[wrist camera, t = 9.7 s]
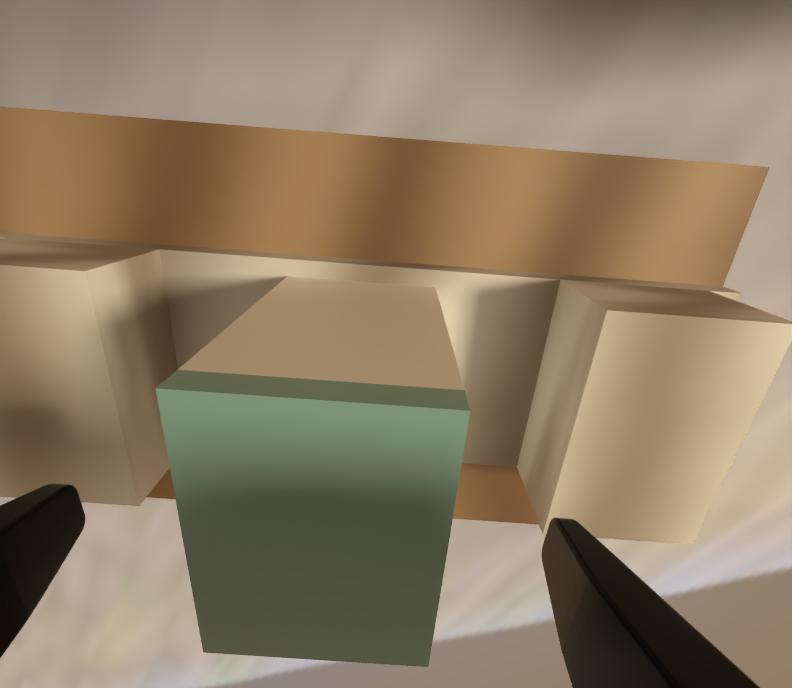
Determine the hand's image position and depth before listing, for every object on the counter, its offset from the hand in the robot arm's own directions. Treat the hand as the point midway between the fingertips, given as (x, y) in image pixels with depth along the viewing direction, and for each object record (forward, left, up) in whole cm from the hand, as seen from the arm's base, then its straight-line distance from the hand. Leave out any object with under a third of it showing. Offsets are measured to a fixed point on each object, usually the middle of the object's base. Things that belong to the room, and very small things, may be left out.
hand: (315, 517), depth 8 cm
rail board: (0, 0, -8) cm, 8 cm away
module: (0, 0, -6) cm, 6 cm away
